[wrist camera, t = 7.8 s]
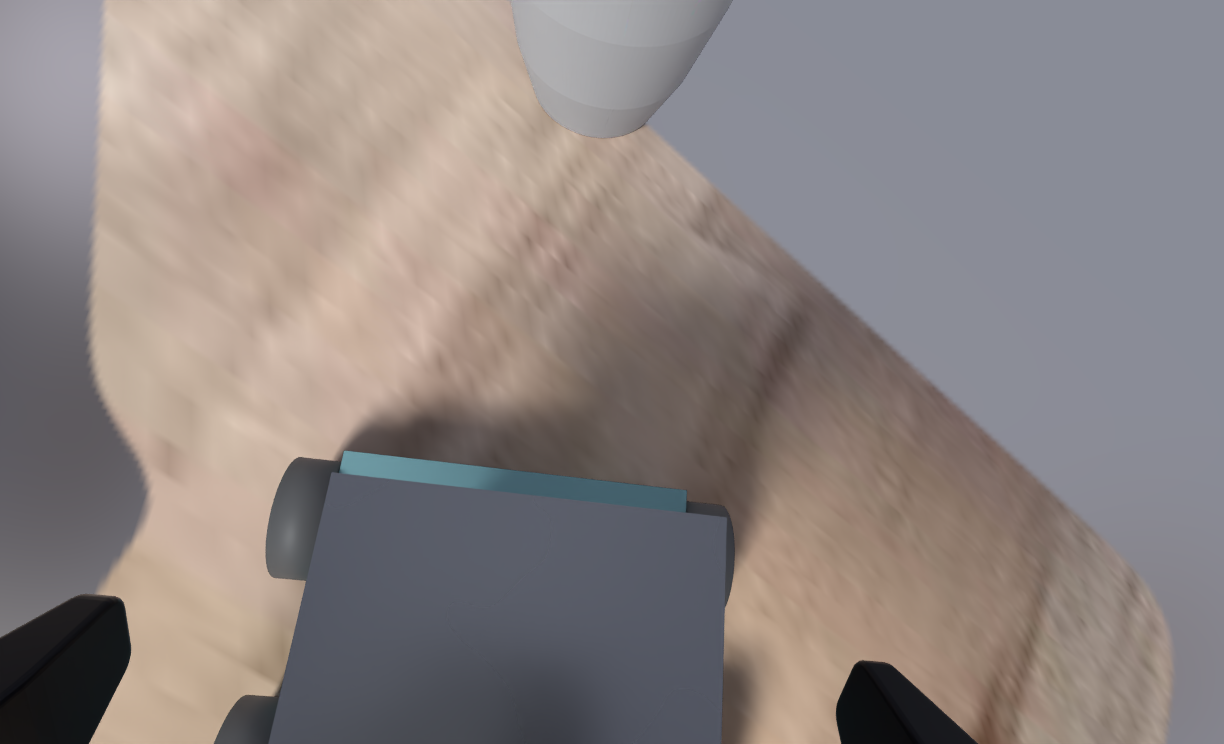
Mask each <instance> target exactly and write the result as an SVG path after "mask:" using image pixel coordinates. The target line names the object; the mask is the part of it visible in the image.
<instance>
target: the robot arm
mask: <svg viewBox="0 0 1224 744" xmlns="http://www.w3.org/2000/svg"><path fill="white" fill-rule="evenodd" d="M130 656H131V643H130V636H129V630H128V623H127V617H126V611H125V606H124V602H123V601H122V600H121V599H120V598H118V597H116V596H106V595H94V594H81V595H78V596H75V597H73V598H71V599H69V600H68V601H66V602H64V603H62V604H60V605H58V606H56V607H55V608H53V609H51V610H49V611H47V612H46V613H44V614H42V615H40V616H38V617H36V618H35V619H33V620H31V621H29V622H27V623H26V624H24V625H22V626H20V627H18V628H17V629H15V630H13V631H11V632H9V633H8V634H6V635H4V636H2V637H1V638H0V744H89V742H90V740H91V738H92V736H93V735H94V733H95V731H96V729H97V727H98V725H99V723H100V721H101V719H102V717H103V715H104V713H105V711H106V709H107V707H108V705H109V703H110V701H111V699H112V697H113V695H114V693H115V691H116V689H117V687H118V685H119V683H120V681H121V679H122V677H123V675H124V673H125V671H126V669H127V666H128V663H129V660H130ZM836 720H837V726H838V731H839V735H840V740H841V744H978V743H977V742H976V741H975V740H974V739H972V738H971V737H970V736H969V735H968V734H967V733H966V732H965V731H964V730H963V729H961V728H960V727H959V726H958V725H957V724H956V723H955V722H954V721H953V720H952V719H951V718H949V717H948V716H947V715H946V714H945V713H944V712H943V711H942V710H941V709H940V708H938V707H937V706H936V705H935V704H934V703H933V702H932V701H931V700H930V699H929V698H927V697H926V696H925V695H924V694H923V693H922V692H921V691H920V690H919V689H918V688H916V687H915V686H914V685H913V684H912V683H911V682H910V681H909V680H908V679H907V678H906V677H904V676H903V675H902V674H901V673H900V672H899V671H898V670H897V669H896V668H894V667H893V666H892V665H890V664H888V663H885V662H876V661H864V660H862V661H859V662H857V663H856V664H855V665H854V667H853V668H852V671H851V673H850V675H849V677H848V680H847V682H846V684H845V686H844V688H843V691H842V693H841V695H840V697H839V700H838V702H837V707H836Z"/></svg>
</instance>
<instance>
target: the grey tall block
mask: <svg viewBox="0 0 1224 744" xmlns="http://www.w3.org/2000/svg"><path fill="white" fill-rule="evenodd" d="M726 532H727V517H719V516H710V515H702V514H693V513H684V512H675V511H667V510H658V509H649V508H640V507H632V506H623V505H614V504H605V503H597V502H588V501H579V500H570V499H561V498H553V497H544V496H535V495H526V494H518V493H509V492H500V491H491V490H483V489H474V488H465V487H456V486H447V485H439V484H430V483H421V482H412V481H404V480H395V479H386V478H377V477H369V476H360V475H351V474H342V473H334V472H332V473H331V477H330V481H329V486H328V490H327V494H326V499H325V503H324V507H323V511H322V516H321V520H320V524H319V529H318V533H317V537H316V541H315V546H314V550H313V554H312V559H311V563H310V567H309V571H308V576H307V580H306V584H305V589H304V593H303V597H302V601H301V606H300V610H299V614H298V619H297V623H296V627H295V631H294V636H293V640H292V644H291V649H290V653H289V657H288V661H287V666H286V670H285V674H284V679H283V683H282V687H281V691H280V696H279V700H278V704H277V709H276V713H275V717H274V721H273V726H272V730H271V734H270V739H269V743H268V744H721V736H722V695H723V654H724V613H725V573H726Z"/></svg>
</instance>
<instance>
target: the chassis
mask: <svg viewBox="0 0 1224 744" xmlns="http://www.w3.org/2000/svg"><path fill="white" fill-rule="evenodd" d="M332 472H334V473H342V474H351V475H360V476H369V477H377V478H386V479H395V480H404V481H412V482H421V483H430V484H439V485H447V486H456V487H465V488H474V489H483V490H491V491H500V492H509V493H518V494H526V495H535V496H544V497H553V498H561V499H570V500H579V501H588V502H597V503H605V504H614V505H623V506H632V507H640V508H649V509H658V510H667V511H675V512H684V513H693V514H702V515H710V516H719V517H727V532H726V573H725V606H726V604H727V601H728V598H729V595H730V591H731V586H732V580H733V573H734V558H735V547H734V533H733V527H732V522H731V519H730V516H729V513H728V511H727V509H726V508H725V507H724V506H722V505H715V504H706V503H697V502H689V501H686V498H687V490H679V489H671V488H662V487H653V486H645V485H636V484H628V483H619V482H610V481H602V480H593V479H585V478H576V477H567V476H559V475H550V474H542V473H533V472H524V471H516V470H507V469H499V468H490V467H481V466H473V465H464V464H456V463H447V462H438V461H430V460H421V459H413V458H404V457H395V456H387V455H378V454H370V453H361V452H352V451H344V453H343V458H342V462H338V461H329V460H321V459H312V458H303V457H298V458H296V459H295V460H294V461H293V462H292V463H291V464H290V465H289V467H288V468H287V470H286V471H285V473H284V475H283V477H282V480H281V482H280V484H279V487H278V489H277V492H276V495H275V498H274V502H273V505H272V509H271V513H270V518H269V523H268V529H267V537H266V564H267V569H268V572H269V574H270V575H271V576H272V577H274V578H282V579H293V580H304V581H306V580H307V576H308V571H309V567H310V563H311V559H312V554H313V550H314V546H315V541H316V537H317V533H318V529H319V524H320V520H321V516H322V511H323V507H324V503H325V499H326V494H327V490H328V486H329V481H330V477H331V473H332ZM278 700H279V697H270V696H255V695H245V696H243V697H241V698H240V699H239V700H238V701H237V702H236V703H235V705H234V706H233V707H232V709H231V710H230V712H229V714H228V715H227V717H226V719H225V721H224V723H223V725H222V727H221V729H220V731H219V733H218V735H217V737H216V740H215V742H214V744H268V743H269V739H270V734H271V730H272V726H273V721H274V717H275V713H276V709H277V704H278Z"/></svg>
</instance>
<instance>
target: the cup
mask: <svg viewBox="0 0 1224 744" xmlns="http://www.w3.org/2000/svg"><path fill="white" fill-rule="evenodd" d="M731 2H732V0H511V5H512V11H513V17H514V24H515V30H516V36H517V41H518V45H519V48H520V51H521V54H522V56H523V59H524V62H525V65H526V68H527V71H528V74H529V77H530V80H531V83H532V86H533V89H534V91H535V94H536V97H537V99H538V101H539V103H540V105H541V106H542V108H543V109H544V110H545V112H546V113H547V114H548V115H549V116H550V117H551V118H552V119H553V120H555V121H556V122H557V123H559V124H560V125H562V126H563V127H565V128H567V129H569V130H571V131H573V132H575V133H578V134H581V135H585V136H589V137H596V138H612V137H618V136H623V135H626V134H628V133H631V132H633V131H635V130H637V129H638V128H640V127H641V126H642V125H643V124H645V123H646V122H647V121H648V119H649V118H650V117H651V116H652V115H653V114H654V113H655V112H656V111H657V109H658V108H659V107H660V106H661V105H662V104H663V103H664V102H665V101H666V100H667V99H668V97H669V96H670V95H671V94H672V93H673V92H674V91H675V90H676V89H677V88H678V87H679V85H680V84H681V83H682V82H683V80H684V79H685V77H686V76H687V74H688V72H689V71H690V69H691V67H692V66H693V64H694V63H695V61H696V59H697V58H698V56H699V55H700V53H701V51H702V50H703V48H704V46H705V45H706V43H707V42H708V40H709V39H710V37H711V35H712V34H713V32H714V31H715V29H716V27H717V26H718V24H719V22H720V21H721V19H722V18H723V16H724V15H725V13H726V11H727V10H728V8H729V6H730V4H731Z"/></svg>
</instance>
